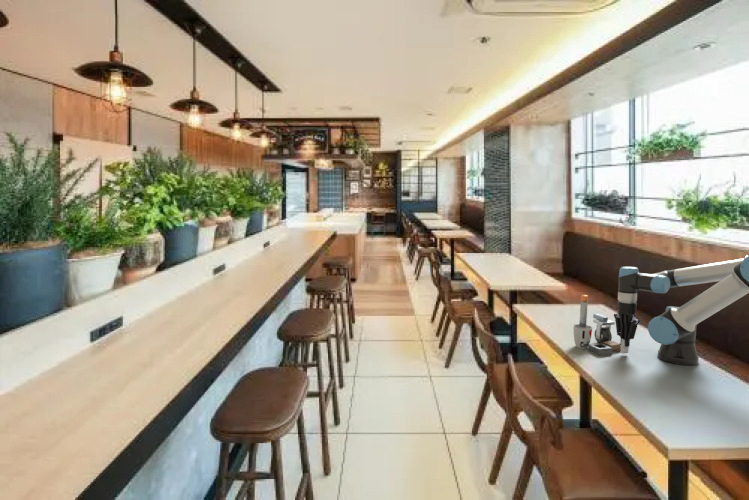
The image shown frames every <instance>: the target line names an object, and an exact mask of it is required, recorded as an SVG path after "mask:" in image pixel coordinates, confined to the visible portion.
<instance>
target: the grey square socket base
mask: <svg viewBox="0 0 749 500" xmlns="http://www.w3.org/2000/svg"><path fill="white" fill-rule="evenodd" d="M587 351H588V352H590V353H592V354H594V355H596V356H598V357H600V356H608V355H613V352H612V348H611V347H609V346H607V345H604V344H602V343H598V342H597V343H589V344H588V348H587Z"/></svg>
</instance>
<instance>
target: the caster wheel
mask: <svg viewBox="0 0 749 500" xmlns="http://www.w3.org/2000/svg"><path fill="white" fill-rule="evenodd" d="M592 318H593V323H595V324H596V328H595V331H594V339H595V341H596V342H597V343H603V342H607V341H613V339H612V338H613V336H612V332H611V326H614V325H615V326H616V322H615V321H613V320H611V319H609V317H608V316H605V315H602V314H600V313H593V316H592ZM604 326H605V327H604Z"/></svg>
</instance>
